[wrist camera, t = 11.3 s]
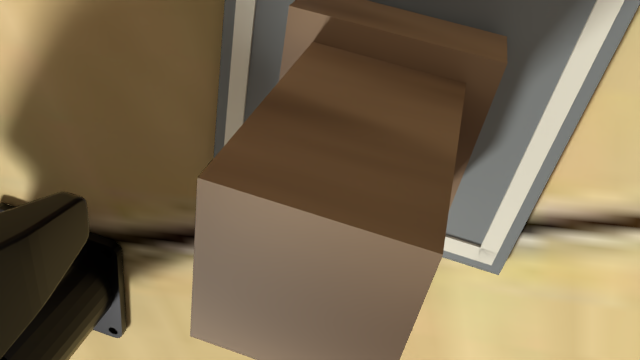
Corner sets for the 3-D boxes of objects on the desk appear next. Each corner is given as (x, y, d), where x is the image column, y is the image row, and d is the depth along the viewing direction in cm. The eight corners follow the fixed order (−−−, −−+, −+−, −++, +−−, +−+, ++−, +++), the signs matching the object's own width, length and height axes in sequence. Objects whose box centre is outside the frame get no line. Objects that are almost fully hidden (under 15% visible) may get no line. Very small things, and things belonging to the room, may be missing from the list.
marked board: (498, 265, 20) (498, 276, 19) (217, 176, 21) (210, 185, 21) (661, -51, 13) (667, -46, 13) (242, -150, 15) (233, -149, 14)
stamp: (446, 190, 18) (409, 437, 11) (289, 143, 19) (156, 346, 12) (506, 31, 15) (510, 232, 8) (315, -18, 16) (154, 124, 8)
